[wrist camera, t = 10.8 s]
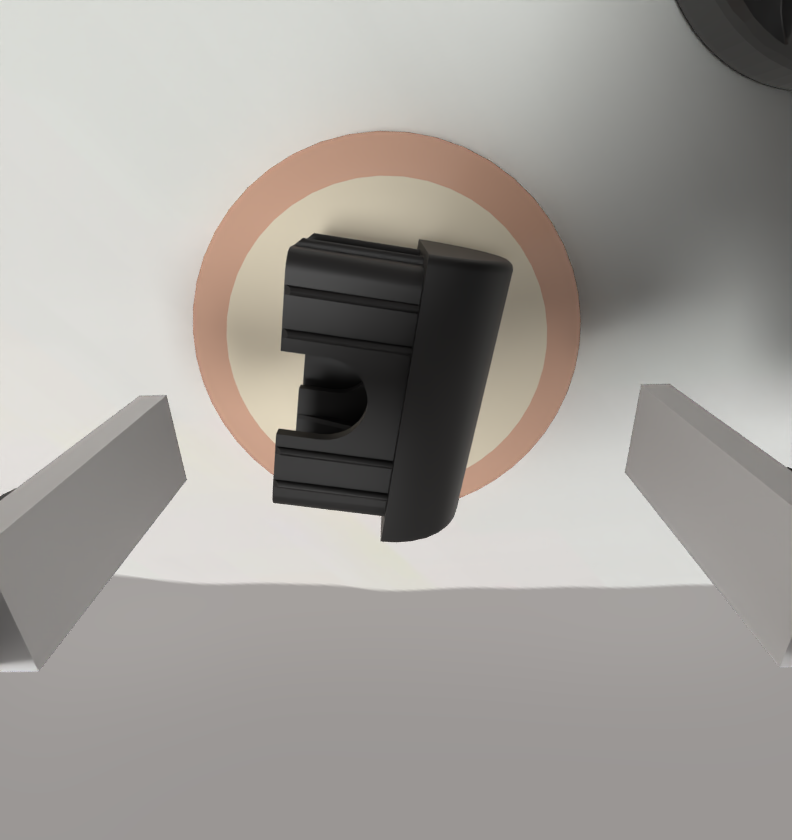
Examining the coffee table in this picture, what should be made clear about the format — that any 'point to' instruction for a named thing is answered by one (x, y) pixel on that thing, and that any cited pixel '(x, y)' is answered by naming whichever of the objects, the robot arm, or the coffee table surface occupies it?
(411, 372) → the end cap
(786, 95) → the coffee table surface
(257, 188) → the plate
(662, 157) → the coffee table surface
